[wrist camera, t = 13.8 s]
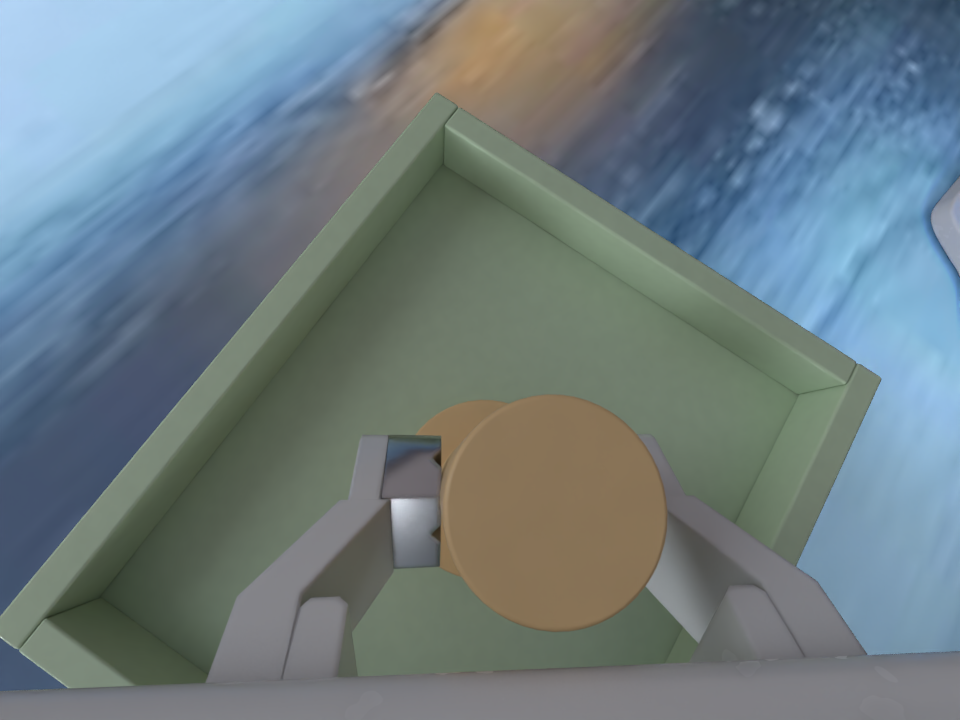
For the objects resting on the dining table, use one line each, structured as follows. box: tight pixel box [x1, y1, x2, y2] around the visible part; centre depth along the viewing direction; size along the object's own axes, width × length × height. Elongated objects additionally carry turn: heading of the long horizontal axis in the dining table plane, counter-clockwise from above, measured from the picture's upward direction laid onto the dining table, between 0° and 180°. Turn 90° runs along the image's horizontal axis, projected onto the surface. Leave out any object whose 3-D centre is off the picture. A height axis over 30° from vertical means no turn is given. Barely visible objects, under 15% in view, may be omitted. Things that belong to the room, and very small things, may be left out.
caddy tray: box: [0, 93, 881, 688], centre depth 11 cm, size 17×15×10 cm
